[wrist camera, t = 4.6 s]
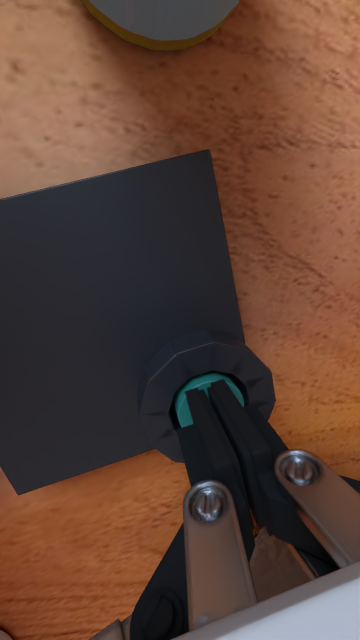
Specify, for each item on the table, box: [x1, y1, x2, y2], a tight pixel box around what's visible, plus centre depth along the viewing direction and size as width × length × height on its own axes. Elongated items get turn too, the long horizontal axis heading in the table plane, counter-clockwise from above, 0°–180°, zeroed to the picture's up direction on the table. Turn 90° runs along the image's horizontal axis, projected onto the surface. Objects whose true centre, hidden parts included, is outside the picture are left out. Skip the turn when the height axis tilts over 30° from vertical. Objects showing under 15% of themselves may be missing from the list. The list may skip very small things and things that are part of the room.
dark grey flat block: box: [0, 149, 276, 495], centre depth 12 cm, size 12×12×4 cm
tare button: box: [173, 370, 244, 428], centre depth 12 cm, size 3×3×2 cm
